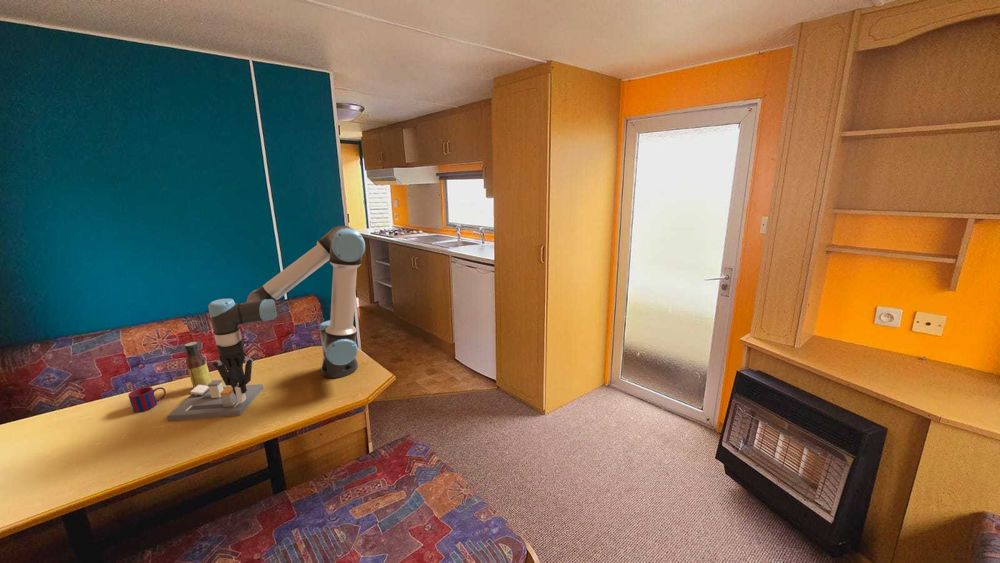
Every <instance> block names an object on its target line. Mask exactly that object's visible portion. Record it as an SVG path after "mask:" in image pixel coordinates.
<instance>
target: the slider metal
mask: <svg viewBox="0 0 1000 563" xmlns="http://www.w3.org/2000/svg"><path fill="white" fill-rule="evenodd" d="M220 395H221V398H222V402H223V406H224V407H232V406H233V405H234V404H235V403H236V402H237V400H236V396H235V394H234V392H233V388H226V389H224V390H223V391H222V392H221V393H220Z"/></svg>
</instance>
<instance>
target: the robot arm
mask: <svg viewBox="0 0 1000 563" xmlns="http://www.w3.org/2000/svg"><path fill="white" fill-rule="evenodd" d="M365 251H366V242H365V239H364V237H363V236H362V234H361V233H360V232H358V231H357V230H356V229H354V228H352V227H351V226H349V225H348V226H347V225H338V226H334V227H333V228H331V229H330V230H329V231H328V232H326V234H325V235H324V236H322V237H320V239H318V240H317V242H316V245H315V246H314V247H312V248H311V249H309V250H308V251H307V252H305V253H304V254H303V255H301V256H300V257H299V258H297V259H296V260H295V261H294V262H292V263H291V264H289V265H288V266H287V267H286V268H284V269H283V270H282V271H280V272H279V273H278V274H276V275H275V276H273V277H272V278H271V279H269V280H268V281H266V283H264V284H263V285H262V286H260V287H259V288H257V289H255V290H252V291H251V292H250V293H249V294H248V295H247V297H246V302H241V303H236V302H235V301H234V299H233V298H219V299H216V300H213V301H211V302H209V304H208V306H207V307H208V313H209V319H210V323H211V327H212V330H213V335H214V342H215V344H216V348H217V353H218V355H219V357H218V359H216V360H215V361H213V363H212V365H213V367H214V368H216V369H217V372H218V373H219V375H220V377H221V380H222V382H223V383H224V385H225V387H230V386H232V388H233V392H234V394H236V395H237V400H238V403H243V402H244V401H245V399H246V395H245V392H246V391H247V389H246V385H249V382H250V381H251V380H252V367H253V362H254V360H255V358H254V356H253V357H248V356H247V354H246V353H245V347H244V342H243V340H242V339H243V338H242V333H241V329H240V326H242V325H247V324H252V323H253V324H254V323H260V322H268V321H270V320H275V319H277V307H276V302H277V301H278V300H279V299H281V298H282V297H283V296H284V295H286V294H287V293H288V292H290V291H291V290H293V289H294V288H295V287H296V286H298V285H299V284H300V283H301V282H303V281H304V280H305V279H307V278H308V277H309V276H310V275H312V274H313V273H314V272H316V271H317V270H318V269H320V268H321V267H323V266H324V264H326V263H328V262H329V264H330V265H331V266H332V268H333V269H332V282H331V300H330V301H331V303H330V316H329V317H330V318H329V319H330V320H329V319H328V320H326V321H323V322H321V323H320V324H319V333H320V334H319V335H320V342H321V348H322V353H323V354H322V355H323V357H322V362H321V366H320V371H321V375H322V376H323V377H326V378H329V379H331V378H332V379H334V378H335V379H336V378H342V377H346V376H349V375H351V374H353V373H354V372H356V371H357V370H358V368H359V363H358V359H357V355H358V350H359V347H358V344H357V331H358V329H357V328H356V327H355V326H354V320H355V319H354V317H355V304H356V289H357V276H358V275H357V273H358V272H357V271H358V268H359V267H360V266H361V265H362V263H363V262H362V261H363V256H364V254H365ZM244 365H245V366H244ZM355 370H356V371H355Z"/></svg>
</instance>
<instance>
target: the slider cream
mask: <svg viewBox="0 0 1000 563" xmlns="http://www.w3.org/2000/svg"><path fill="white" fill-rule="evenodd" d="M222 382H223V379H214V380H213V379H212V381H211V382H210V383H209V384H208V387H209V390H210V394H211V398H220V397H221V395H220V393H221V392H222V391H223V387H224V386H223V383H222Z"/></svg>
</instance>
